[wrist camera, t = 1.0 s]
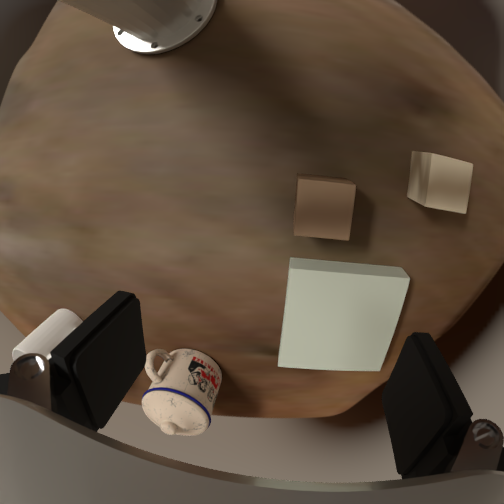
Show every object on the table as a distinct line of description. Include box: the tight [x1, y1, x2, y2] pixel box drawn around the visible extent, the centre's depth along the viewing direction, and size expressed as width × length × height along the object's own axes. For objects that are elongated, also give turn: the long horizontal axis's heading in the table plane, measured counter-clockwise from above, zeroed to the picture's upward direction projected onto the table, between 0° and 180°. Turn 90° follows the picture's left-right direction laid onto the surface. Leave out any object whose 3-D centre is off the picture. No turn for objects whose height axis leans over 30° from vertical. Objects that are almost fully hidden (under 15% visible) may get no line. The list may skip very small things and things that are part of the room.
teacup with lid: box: [142, 349, 222, 436], centre depth 34 cm, size 12×9×12 cm
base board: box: [278, 257, 410, 371], centre depth 32 cm, size 13×13×3 cm
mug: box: [12, 309, 83, 361], centre depth 35 cm, size 8×12×12 cm
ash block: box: [407, 151, 473, 214], centre depth 25 cm, size 5×5×5 cm
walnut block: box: [294, 173, 356, 240], centre depth 27 cm, size 5×5×5 cm
